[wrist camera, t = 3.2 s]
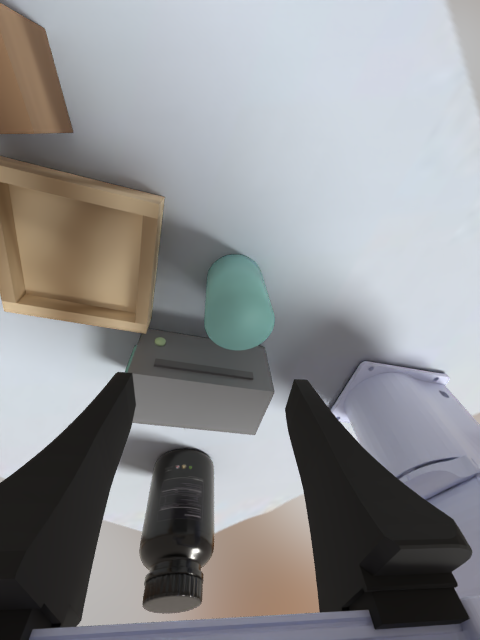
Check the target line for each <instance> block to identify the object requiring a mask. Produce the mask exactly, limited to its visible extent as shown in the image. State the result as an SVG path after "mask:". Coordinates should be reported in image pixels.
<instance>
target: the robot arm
mask: <svg viewBox="0 0 480 640" xmlns="http://www.w3.org/2000/svg"><path fill="white" fill-rule="evenodd" d="M369 367H370V368H369ZM449 380H450V378H449V376H448V375H446V374H441V373H435V372H429V371H423V370H417V369H411V368H405V367H399V366H393V365H387V364H381V363H374V362H368V361H364V362H362V363H361V364H360V365H359V366H358V368H357V370H356V371H355V373H354V374H353V376H352V377H351V379H350V381H349V382H348V384H347V385H346V387H345V388H344V390H343V392H342V393H341V395H340V396H339V398H338V399H337V401H336V403H335V404H334V406H333V407H332V409H331V410H330V409H329V408H328V407H327V405H326V404H325V403H324V402H323V400H322V399H321V398H320V396H319V395H318V394H317V392H316V391H315V390H314V388H313V387H312V386H311V384H310V383H309V382H308V381H307V380H295V379H294V382H293V385H292V389H291V392H290V395H289V398H288V402H287V405H286V408H285V412H286V419H287V426H288V432H289V436H290V440H291V443H292V447H293V451H294V455H295V458H296V462H297V466H298V470H299V473H300V477H301V481H302V486H303V490H304V496H305V501H306V508H307V514H308V520H309V526H310V533H311V540H312V548H313V555H314V563H315V571H316V581H317V589H318V599H319V609H320V613H305V614H287V615H270V616H253V617H237V618H236V617H235V618H219V619H201V620H184V621H167V622H151V623H133V624H116V625H98V626H81V627H76V626H77V625H78V624H79V622H80V621H81V618H82V613H83V608H84V603H85V598H86V593H87V587H88V583H89V578H90V573H91V569H92V564H93V559H94V554H95V550H96V545H97V541H98V537H99V533H100V528H101V524H102V520H103V516H104V512H105V508H106V504H107V500H108V496H109V492H110V488H111V485H112V482H113V478H114V475H115V473H116V470H117V467H118V464H119V461H120V458H121V455H122V452H123V450H124V447H125V444H126V441H127V438H128V435H129V432H130V429H131V425H132V421H133V417H134V412H135V407H136V400H135V392H134V383H133V374H132V373H125V372H117V373H116V374H115V375H114V376H113V377H112V379H111V380H110V381H109V382H108V384H107V385H106V386H105V387H104V388H103V390H102V391H101V392H100V393H99V394H98V395H97V397H96V398H95V399H94V400H93V401H92V402H91V403H90V404H89V405H88V407H87V408H86V409H85V410H84V411H83V412H82V413H81V414H80V415H79V416H78V417H77V418H76V419H75V420H74V421H73V422H72V423H71V424H70V425H69V426H68V427H67V428H66V429H65V430H64V431H63V432H62V433H61V434H60V435H59V436H58V437H57V438H56V439H54V440H53V441H52V442H51V443H50V444H49V445H48V446H47V447H45V448H44V449H43V450H42V451H41V452H40V453H38V454H37V455H36V456H35V457H33V458H32V459H31V460H30V461H28V462H27V463H26V464H25V465H24V466H22V467H21V468H20V469H18V470H17V471H16V472H15V473H13V474H12V475H11V476H9V477H8V478H6V479H5V480H4V481H2V482H1V483H0V640H480V424H479V423H478V422H477V421H476V420H475V419H474V418H473V417H472V415H471V414H470V413H469V412H468V411H467V410H466V409H465V408H464V406H463V405H462V404H461V403H460V402H459V401H458V400H457V399H456V397H455V396H454V395H453V394H452V393H451V392H450V391H449V389H448V388H447V387H446V386H445V385H446V384H447V383H448V381H449ZM339 421H340V422H348V423H351V425H352V427H353V430H354V432H355V434H356V436H357V438H358V441H359V443H360V444H359V443H358V442H357V441H356V440H355V438H354V437H353V436H352V435H351V434H350V433H349V432H348V431H347V430H346V429H345V427H344V426H343V425H342V424H341V423H340V422H339Z"/></svg>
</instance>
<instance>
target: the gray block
mask: <svg viewBox="0 0 480 640" xmlns="http://www.w3.org/2000/svg"><path fill="white" fill-rule="evenodd" d="M125 373H132V374H133V383H134V392H135V400H136V407H135V412H134V417H133V421H132V423H140V424H150V425H160V426H170V427H180V428H190V429H200V430H210V431H220V432H230V433H240V434H249V435H255V434H256V432H257V429H258V427H259V425H260V423H261V421H262V418H263V416H264V414H265V412H266V410H267V408H268V405H269V403H270V401H271V399H272V397H273V394H274V388H273V383H272V378H271V374H270V369H269V365H268V360H267V355H266V351H265V347H259V346H256V347H253V348H251V349H247V350H229V349H225V348H223V347H220V346H219V345H217V344H215V343H214V342H213V341H212V340H211V339H210V338H203V337H197V336H191V335H185V334H179V333H173V332H166V331H160V330H154V329H148V330H147V333H146V334H144V333H142V334H141V337H140V339H139V342H138V345H135V347H134V349H133V352H132V355H131V357H130V360H129V363H128V365H127V368H126V370H125Z"/></svg>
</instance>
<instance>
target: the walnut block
mask: <svg viewBox="0 0 480 640" xmlns="http://www.w3.org/2000/svg"><path fill="white" fill-rule="evenodd" d="M39 133H73V130H72V126H71V122H70V119H69V115H68V111H67V108H66V104H65V100H64V97H63V93H62V89H61V86H60V82H59V79H58V75H57V71H56V68H55V64H54V60H53V57H52V53H51V49H50V46H49V42H48V38H47V35H46V31H45V29H44V28H43V27H41V26H39V25H37V24H36V23H34V22H32V21H31V20H29V19H27V18H25V17H24V16H22V15H20V14H19V13H17V12H15V11H13V10H12V9H10V8H8V7H6V6H5V5H3V4H1V3H0V134H39Z"/></svg>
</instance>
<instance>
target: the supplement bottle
mask: <svg viewBox="0 0 480 640" xmlns="http://www.w3.org/2000/svg"><path fill="white" fill-rule="evenodd" d="M213 550H214V466H213V462H212V461H211V459H210V458H209V457H208V456H207V455H206V454H204V453H202V452H200V451H197V450H193V449H178V450H173V451H170V452H167V453H166V454H164V455H162V456H161V457H160V458H159V459H158V460H157V462H156V464H155V466H154V470H153V476H152V481H151V486H150V492H149V498H148V503H147V509H146V514H145V520H144V526H143V531H142V537H141V543H140V550H139V553H140V558H141V561H142V563H143V565H144V566H145V567H146V568H147V569H148V570H150V573H149V574H147V576H146V577H145V583H144V585H145V590H144V596H143V607H144V609H146V610H148V611H150V612H154V613H179V612H185V611H189V610H192V609H194V608H197V607H198V606H199V605H200V604H201V602H202V584H203V573H202V572H201V568H202V567H203V566H204V565H205V564H206V563H207V562H208V561H209V560H210V558H211V556H212V553H213Z"/></svg>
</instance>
